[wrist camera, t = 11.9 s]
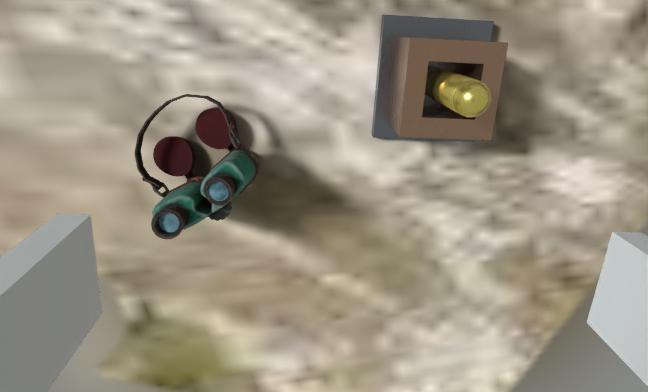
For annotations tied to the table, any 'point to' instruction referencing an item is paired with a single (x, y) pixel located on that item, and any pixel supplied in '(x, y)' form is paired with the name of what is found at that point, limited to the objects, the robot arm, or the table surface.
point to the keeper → (431, 69)
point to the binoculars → (199, 192)
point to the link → (411, 81)
